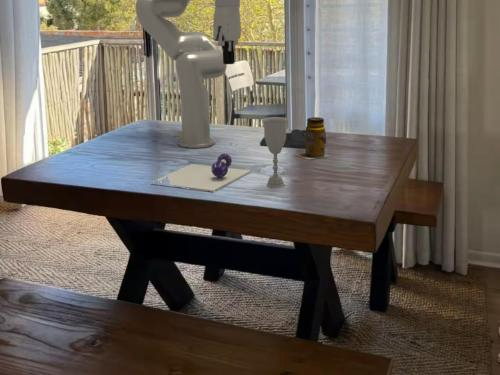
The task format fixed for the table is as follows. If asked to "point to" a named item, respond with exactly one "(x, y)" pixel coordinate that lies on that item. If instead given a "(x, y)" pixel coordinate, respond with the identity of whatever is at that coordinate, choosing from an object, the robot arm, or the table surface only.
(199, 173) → the mat
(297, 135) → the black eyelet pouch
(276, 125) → the chalice
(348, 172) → the table surface
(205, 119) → the robot arm
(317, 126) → the condiment
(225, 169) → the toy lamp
